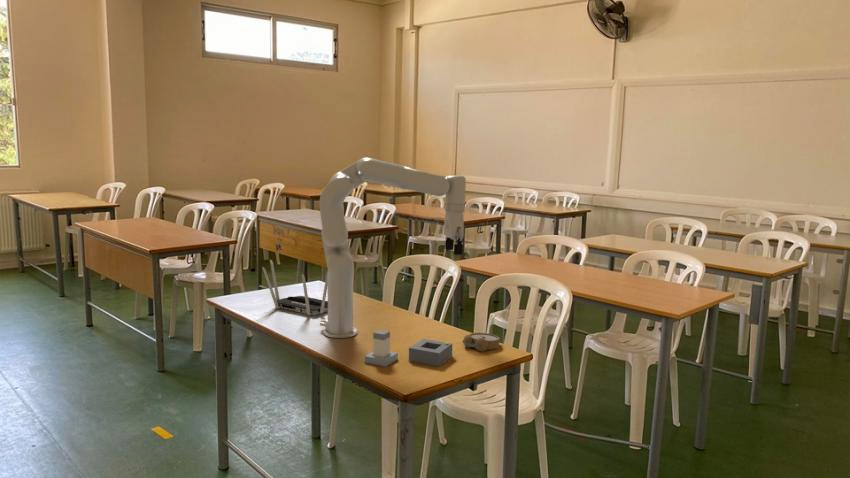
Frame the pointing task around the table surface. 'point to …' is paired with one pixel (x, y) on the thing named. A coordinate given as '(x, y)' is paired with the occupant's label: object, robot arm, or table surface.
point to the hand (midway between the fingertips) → (453, 252)
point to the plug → (381, 343)
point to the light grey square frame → (381, 359)
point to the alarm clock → (481, 341)
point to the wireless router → (298, 298)
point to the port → (430, 352)
